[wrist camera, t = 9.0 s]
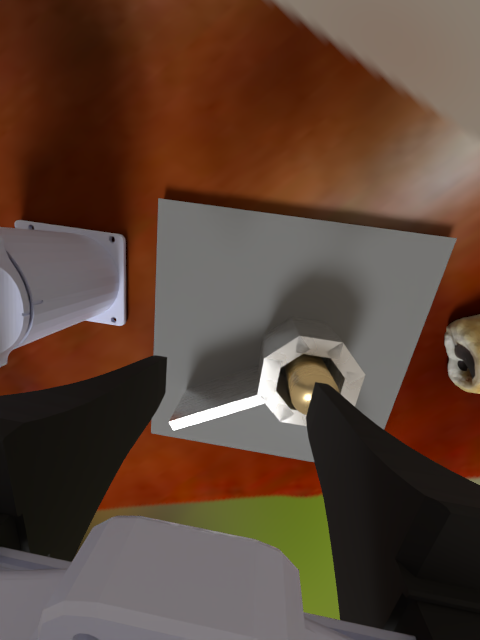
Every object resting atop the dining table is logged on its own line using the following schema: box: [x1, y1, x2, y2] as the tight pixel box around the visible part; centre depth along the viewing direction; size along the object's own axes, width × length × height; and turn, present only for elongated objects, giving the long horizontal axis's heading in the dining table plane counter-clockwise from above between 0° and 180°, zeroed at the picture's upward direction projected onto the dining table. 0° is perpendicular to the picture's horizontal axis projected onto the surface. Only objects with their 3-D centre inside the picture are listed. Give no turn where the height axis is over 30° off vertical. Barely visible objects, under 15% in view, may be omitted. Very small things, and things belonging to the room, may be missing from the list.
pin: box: [284, 354, 340, 415], centre depth 18 cm, size 3×3×6 cm
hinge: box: [169, 317, 365, 430], centre depth 20 cm, size 16×13×4 cm
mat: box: [151, 198, 457, 462], centre depth 21 cm, size 22×22×1 cm
